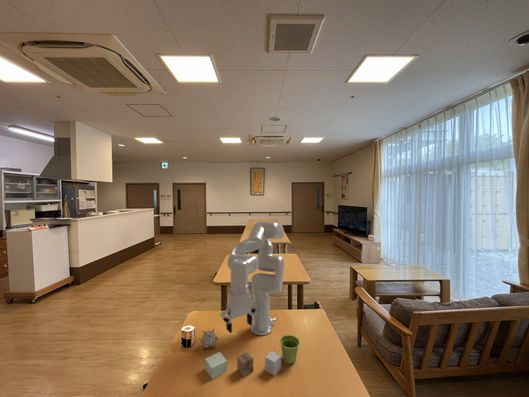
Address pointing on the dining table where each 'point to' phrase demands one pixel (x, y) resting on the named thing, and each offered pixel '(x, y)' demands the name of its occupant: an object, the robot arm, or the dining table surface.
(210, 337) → the grey spiky ball
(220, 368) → the base block
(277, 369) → the grey block
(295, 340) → the plant pot
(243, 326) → the dining table surface
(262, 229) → the robot arm
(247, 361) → the walnut block
